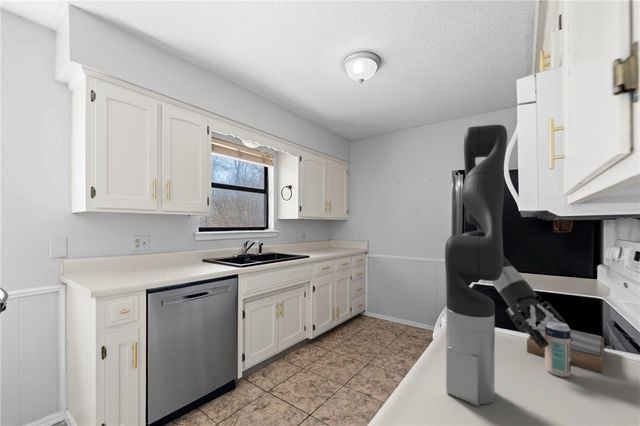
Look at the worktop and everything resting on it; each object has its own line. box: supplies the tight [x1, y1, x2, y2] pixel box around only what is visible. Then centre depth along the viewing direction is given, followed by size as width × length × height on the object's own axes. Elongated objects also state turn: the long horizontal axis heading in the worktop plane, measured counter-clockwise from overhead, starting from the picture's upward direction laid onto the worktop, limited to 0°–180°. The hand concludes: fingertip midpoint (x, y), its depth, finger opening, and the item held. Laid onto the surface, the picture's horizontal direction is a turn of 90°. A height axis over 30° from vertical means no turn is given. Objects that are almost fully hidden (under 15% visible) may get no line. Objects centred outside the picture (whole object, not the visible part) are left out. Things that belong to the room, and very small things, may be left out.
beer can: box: [544, 320, 572, 378], centre depth 69 cm, size 5×5×12 cm
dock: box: [526, 322, 605, 374], centre depth 81 cm, size 18×15×4 cm
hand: (557, 344), depth 69 cm, fingers open, 8 cm apart
